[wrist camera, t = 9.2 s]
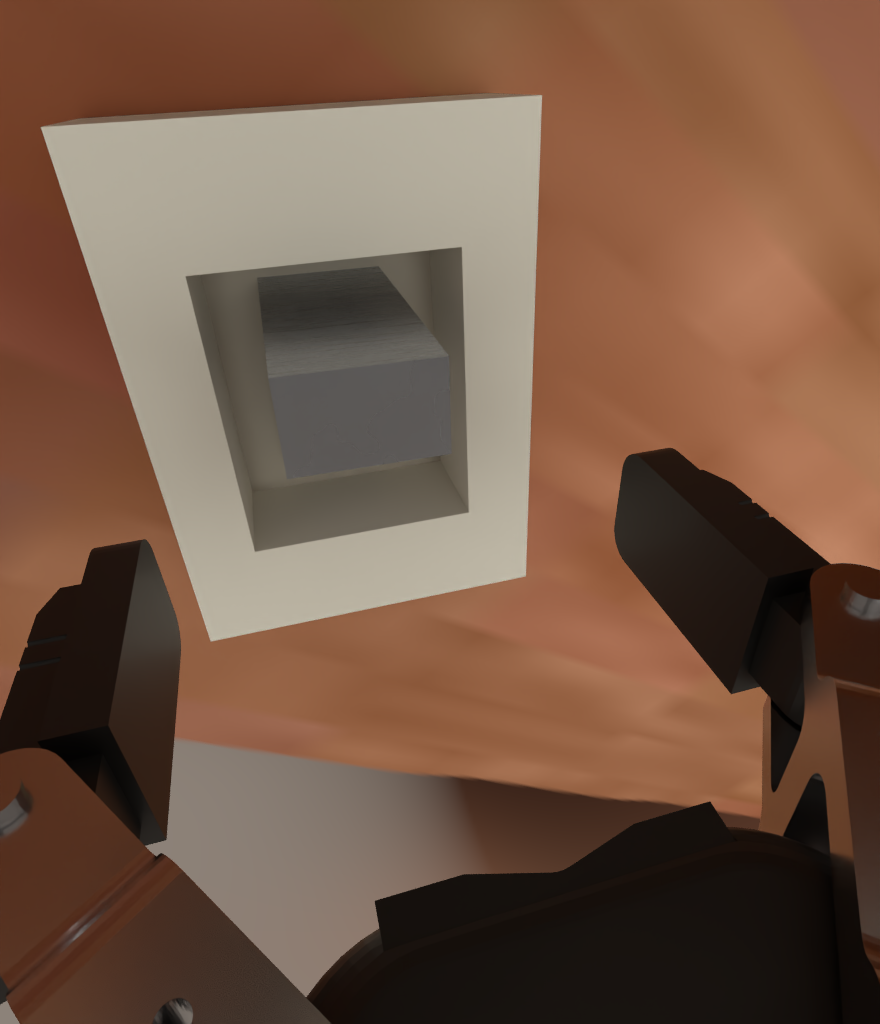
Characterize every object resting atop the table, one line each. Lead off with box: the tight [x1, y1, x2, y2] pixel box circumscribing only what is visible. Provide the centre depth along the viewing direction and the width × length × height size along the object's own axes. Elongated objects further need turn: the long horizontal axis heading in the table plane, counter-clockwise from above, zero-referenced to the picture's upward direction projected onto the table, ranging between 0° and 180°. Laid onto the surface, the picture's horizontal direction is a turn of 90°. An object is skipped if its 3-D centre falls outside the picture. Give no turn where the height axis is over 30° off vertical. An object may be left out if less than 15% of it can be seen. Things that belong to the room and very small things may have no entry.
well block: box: [41, 93, 542, 641], centre depth 22 cm, size 16×12×4 cm
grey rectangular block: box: [257, 266, 452, 479], centre depth 20 cm, size 6×4×9 cm, turn 2°
